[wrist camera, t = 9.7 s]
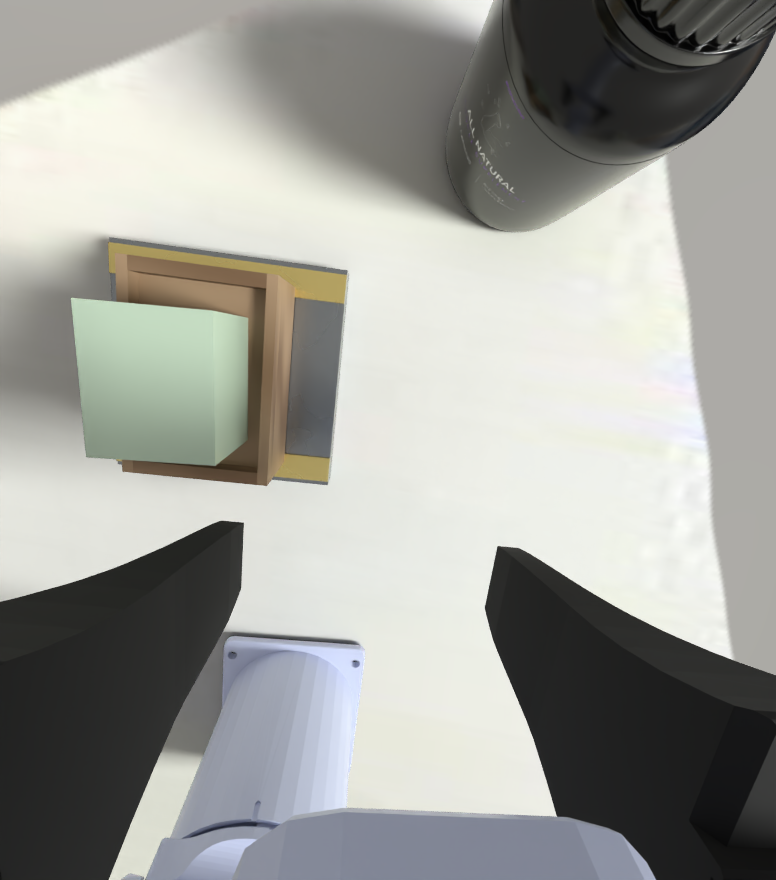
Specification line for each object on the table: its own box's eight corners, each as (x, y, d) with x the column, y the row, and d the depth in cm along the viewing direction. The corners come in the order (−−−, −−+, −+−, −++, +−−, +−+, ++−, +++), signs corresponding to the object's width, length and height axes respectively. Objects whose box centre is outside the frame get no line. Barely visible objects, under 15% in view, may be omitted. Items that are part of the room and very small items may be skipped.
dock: (329, 477, 21) (327, 485, 20) (132, 456, 20) (116, 464, 19) (348, 275, 18) (347, 269, 17) (126, 244, 18) (107, 236, 17)
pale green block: (247, 440, 16) (215, 465, 13) (146, 432, 16) (86, 457, 13) (248, 317, 15) (212, 310, 12) (139, 308, 15) (70, 297, 11)
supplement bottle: (421, 205, 18) (514, -49, 6) (477, 33, 16) (733, -710, 5) (556, 259, 19) (861, 123, 7) (621, 100, 17) (1137, -398, 6)
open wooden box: (284, 461, 19) (266, 485, 16) (164, 449, 19) (122, 471, 16) (295, 287, 17) (278, 274, 14) (163, 269, 17) (114, 252, 14)
